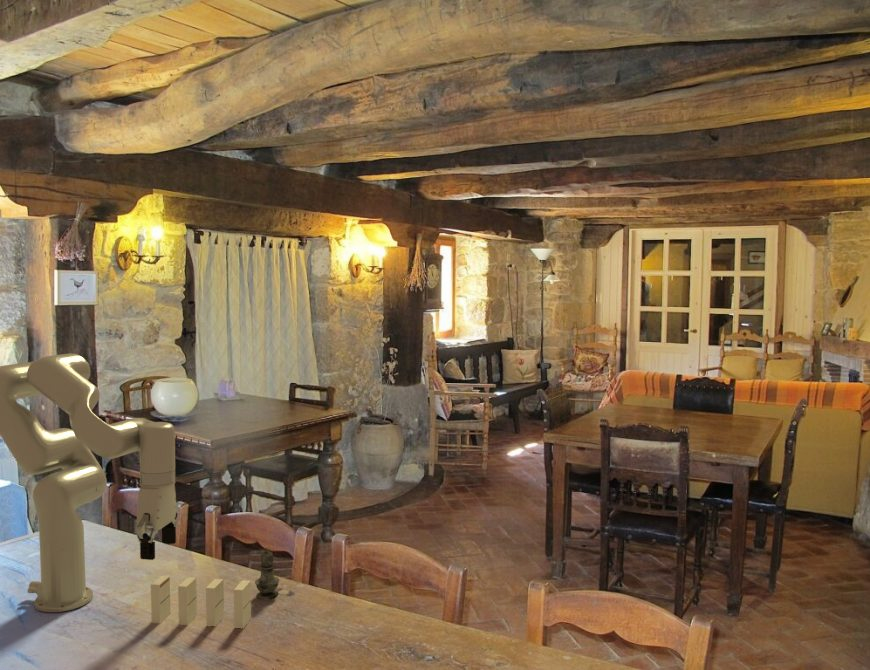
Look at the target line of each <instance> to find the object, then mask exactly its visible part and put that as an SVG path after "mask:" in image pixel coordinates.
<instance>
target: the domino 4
mask: <svg viewBox="0 0 870 670" xmlns="http://www.w3.org/2000/svg"><path fill="white" fill-rule="evenodd" d="M251 591H252V584H251V580H244V579H243V580H241V581H240V582H239V583H238V585H237V586H236V587H235V588H234V589H233V612H234V613H233V615H234V616H233V619H234V620H233V621H234V624H233V625H234V629H235V628H241V629H240V630H243V629H245V627H246V626H247V625H248V623H249V622H250V621H251V620H252V592H251ZM249 620H250V621H249ZM246 624H247V625H246ZM245 625H246V626H245ZM242 628H243V629H242Z"/></svg>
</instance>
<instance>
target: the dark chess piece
mask: <svg viewBox="0 0 870 670" xmlns="http://www.w3.org/2000/svg"><path fill="white" fill-rule="evenodd" d="M260 554H261V555H260V565H259V568H260V577H258V578H257V579H256V580H255V581H254V584H255V586H256V588H257V590H258V592H257V594H256V599H258V600H261V601H262V600H263V601H269V600H273V599H275V598H277V597H278V596H279V592H278V591H277V588H278V586H279V583H280V578H278V577H276V576H275V574H274V568H275V564H274V554H273V552H272V551H269V548H268V547H266V548H265V550H264V551H263V552H261V553H260Z"/></svg>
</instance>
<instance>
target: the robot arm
mask: <svg viewBox="0 0 870 670" xmlns="http://www.w3.org/2000/svg"><path fill="white" fill-rule="evenodd" d="M90 377H91V367H90V364H89V363H88V361H87V360H86V359H85V357H83V356H81V355H79V354H77V353H62V354H54V355H47V356H42V357H40V358H38V359H36V360H34V361H29V362H21V363H12V364H5V365H0V437H1V438H2V441H3V442H4V444H5V445H6V447H7V448H8V450H9V451H10V453H11V455H12V456H13V458H14V459H15V461H16V463H17V465H18V466H19V467H20V468H21V469H22V471H23V472H24V473H26V474H28V475H30V476H31V475H32V476H33V475H34V476H36V475H41V474H44V473H48V472H51V471H54V470H55V471H56V470H58V469H61V470H60V471H56V472H53V473H51V474H48V475H46V476H44V477H43V478H42V479H40V480H39V481H38V482H37V483H36V484H35V486H34V489H33V490H32V500H33V504H34V509H35V511H36V517H37V522H38V523H37V524H38V534H39V535H38V536H39V537H38V538H39V554H40V555H39V560H40V561H39V562H40V581H37V580H36V581H35V580H34V581H33V580H32V581H30V583H29V585H28V588H27V594H36V596H37V597H36V598H35V599H34V608H35V609H36V610H37V611H40V612H43V613H62V612H67V611H72V610H74V609H78V608H81V607H83V606H85V605H87V604H88V603H89V602H90V601H91V600H92V599H93V598H94V591H93V589H92V588H90V587H88V586H86V556H85V555H86V554H85V553H86V552H85V530H84V523H83V520H82V519H81V517H80V516H79V514H78V512H77V510H76V509H77V508H79V507H81V506H83V505H85V504H89V503H90V502H94V501H95V500H98V499H99V498H101V497H102V496H103V495H104V493H105V492H106V490H107V487H108V480H107V476H106V473H105V471H104V469H103V468H102V466H101V465H100V463H99V461H98V459H97V458H96V457H95V455H94V454H96V455H97V456H100V457H101V458H103V459H107V460H109V459H110V460H111V459H117V458H120V457H122V456H125V455H128V454H129V455H130V454H131V453H136V452H139V486H140V487H139V491H138V497H137V498H138V499H137V506H136V508H137V509H136V510H137V511H136V527H135V532H136V535H137V536H136V537H137V539H138V542H139V550H140V552H139V553H140V554H139V557H140V560H148V561H154V560H155V558H156V541H154V539H155V537H156V533H157V532H158V531H160V530H161V543H162V544H168V545H169V544H170V545H172V544H173V545H175V544H176V543H177V534H176V533H177V530H176V529H177V528H176V526H177V525H178V523H177V519H178V515H179V514H178V510H179V503H178V502H177V497H176V496H177V495H176V494H177V493H176V486H175V484H176V432H175V426H174V425H173V424H172V423H171V422H166V421H153V420H149V419H146V418H143V417H133V418H128V419H126V420H121V421H118V422H113V423H110V424H108V423H106V422H105V421H103V420H102V418H99V417H98V416H97V415H96V414H95V413H94V412H93V409H94V408H95V406H96V405H97V403H98V402H99V399H100V390H99V387H97V386H96V385H95V384H93V383H92V382H90V380H89V378H90ZM40 395H43V396H44V397H46V398H47V400H50V401H51V402H52V403H54V405H56V406H57V407H59V408H60V409H61V410H62V411H64V412H65V413H66V414H68V416H69V423H70V426H71V428H67V427H62V428H60V427H59V428H55V429H51V430H47V429H45V428H44V426H43V425H42V424H41V422H40V421H39V419H38V418H37V416H36V415H35V413H33V411H31V410H30V409H28V407H25V406H23V404H20V403H19V402H17V400H20V399H24V398H25V399H26V398H29V397H34V396H35V397H36V396H40ZM148 533H149V534H148Z"/></svg>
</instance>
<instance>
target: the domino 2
mask: <svg viewBox="0 0 870 670" xmlns="http://www.w3.org/2000/svg"><path fill="white" fill-rule="evenodd" d="M197 586H198V585H197V577H192V576H191V577H190V576H189V577H186V579H184V580H183V581H182V582H181V583H180V584H179V585H178V586H177V588H178V592H177V593H178V594H177V595H178V597H177V598H178V625H180V626H189V624H191V622H192V621H193V620H194V619H195V618H196V617H197V616H198V599H197V597H198V596H197V592H198V591H197ZM196 615H197V616H196ZM195 616H196V617H195ZM194 617H195V618H194ZM193 618H194V619H193ZM192 619H193V620H192Z"/></svg>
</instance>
